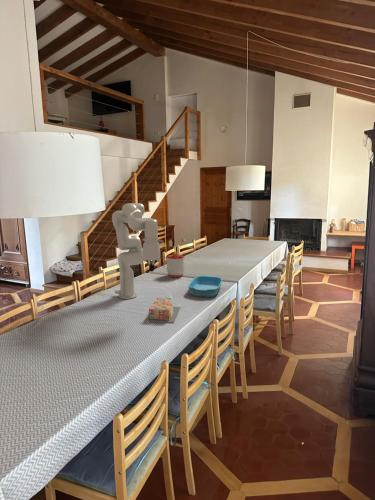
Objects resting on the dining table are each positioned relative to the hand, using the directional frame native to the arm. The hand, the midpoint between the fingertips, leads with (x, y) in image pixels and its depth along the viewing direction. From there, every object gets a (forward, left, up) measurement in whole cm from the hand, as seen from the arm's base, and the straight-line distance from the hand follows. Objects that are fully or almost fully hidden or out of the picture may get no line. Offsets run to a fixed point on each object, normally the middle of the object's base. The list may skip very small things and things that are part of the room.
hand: (151, 270), depth 215 cm
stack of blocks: (0, 0, -23) cm, 23 cm away
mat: (+8, 0, -27) cm, 28 cm away
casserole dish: (+29, +51, -27) cm, 65 cm away
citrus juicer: (-1, +90, -27) cm, 94 cm away
